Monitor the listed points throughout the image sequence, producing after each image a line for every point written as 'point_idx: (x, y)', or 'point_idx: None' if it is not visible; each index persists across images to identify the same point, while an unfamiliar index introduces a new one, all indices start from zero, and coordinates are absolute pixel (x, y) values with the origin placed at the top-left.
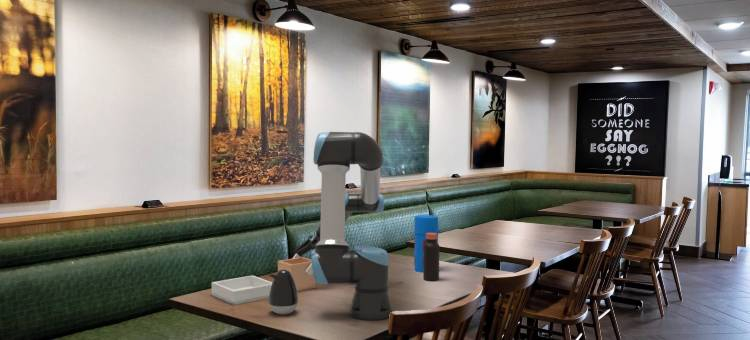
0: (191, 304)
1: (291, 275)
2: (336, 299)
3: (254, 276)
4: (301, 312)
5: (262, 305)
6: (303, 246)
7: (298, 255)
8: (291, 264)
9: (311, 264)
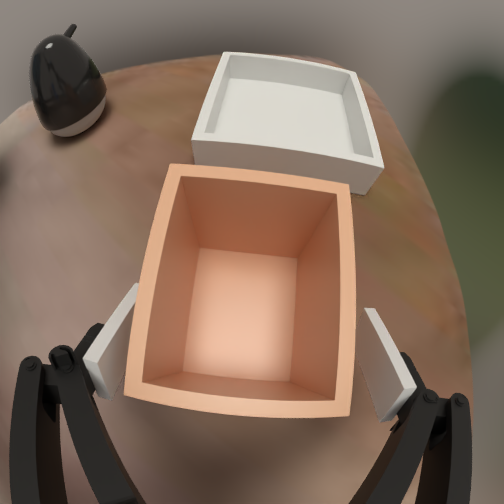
0: (296, 55)
1: (30, 63)
2: (18, 291)
3: (363, 159)
4: (47, 148)
5: (160, 110)
6: (439, 474)
7: (393, 401)
8: (182, 174)
9: (110, 319)
